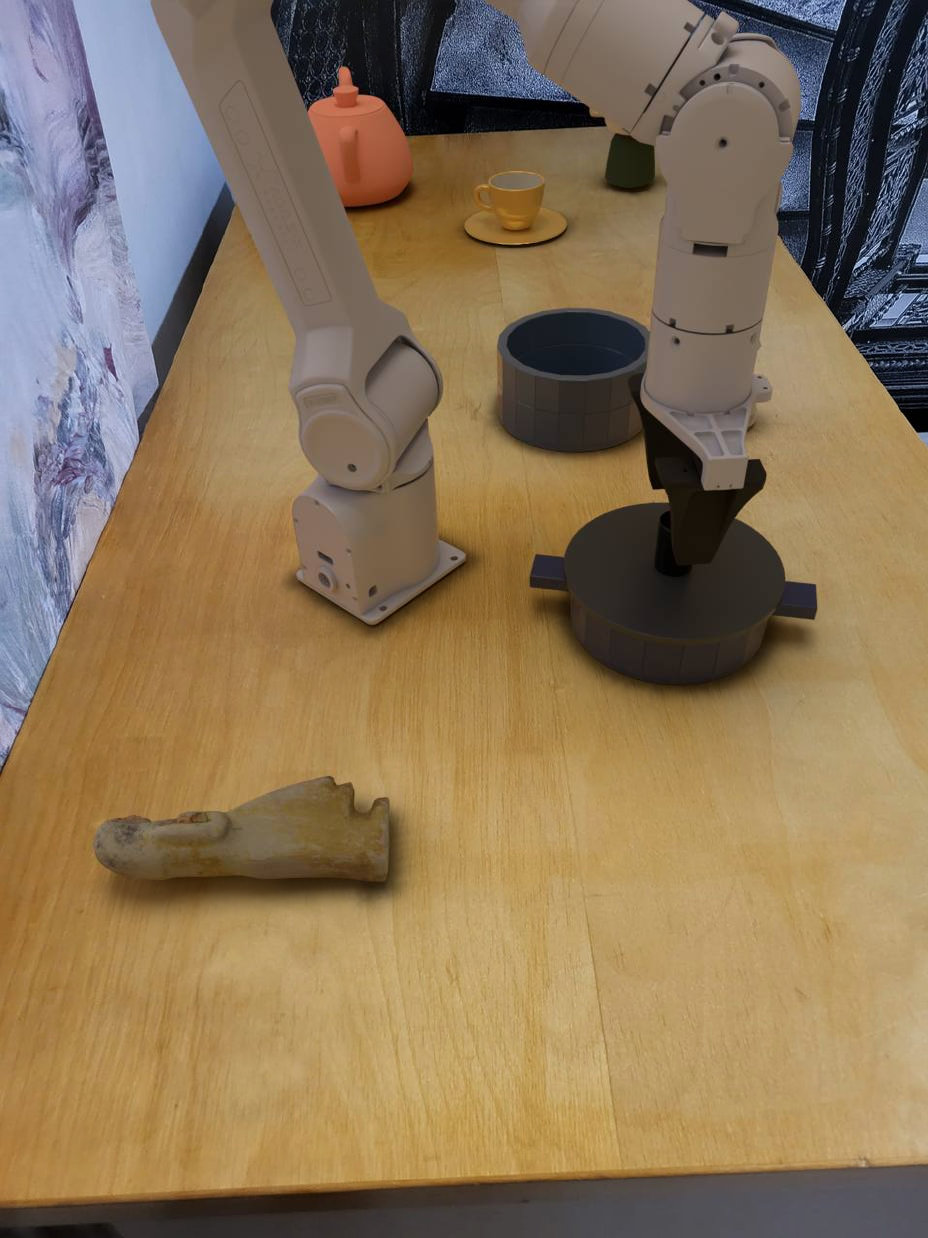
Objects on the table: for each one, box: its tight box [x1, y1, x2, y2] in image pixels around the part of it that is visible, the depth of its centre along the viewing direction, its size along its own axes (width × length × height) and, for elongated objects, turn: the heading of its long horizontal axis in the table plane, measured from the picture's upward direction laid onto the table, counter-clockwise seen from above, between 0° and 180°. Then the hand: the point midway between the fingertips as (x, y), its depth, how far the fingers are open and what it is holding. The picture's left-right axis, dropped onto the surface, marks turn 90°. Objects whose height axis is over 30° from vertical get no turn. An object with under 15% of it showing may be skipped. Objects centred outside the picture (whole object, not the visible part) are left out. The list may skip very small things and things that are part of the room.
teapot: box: [307, 66, 414, 208], centre depth 125 cm, size 22×15×12 cm
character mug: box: [589, 107, 656, 189], centre depth 124 cm, size 11×7×13 cm, turn 83°
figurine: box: [92, 775, 391, 883], centre depth 52 cm, size 5×5×15 cm
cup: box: [464, 170, 568, 245], centre depth 116 cm, size 12×12×5 cm
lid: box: [563, 501, 786, 645], centre depth 63 cm, size 14×14×5 cm
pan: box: [528, 553, 818, 686], centre depth 65 cm, size 13×18×4 cm
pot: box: [496, 307, 650, 453], centre depth 84 cm, size 13×13×6 cm
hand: (679, 521), depth 61 cm, fingers open, 7 cm apart
